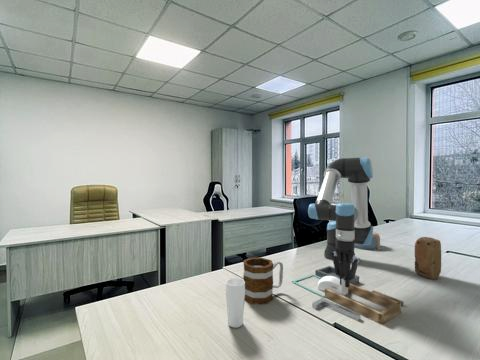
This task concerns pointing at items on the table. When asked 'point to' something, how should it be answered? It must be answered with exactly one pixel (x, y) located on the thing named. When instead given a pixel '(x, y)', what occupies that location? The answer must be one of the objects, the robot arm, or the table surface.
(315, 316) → the table surface
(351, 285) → the wooden u-shaped frame
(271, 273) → the mug
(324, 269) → the grey tray
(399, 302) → the walnut dowel
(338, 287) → the computer mouse
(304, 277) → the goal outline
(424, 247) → the block
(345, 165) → the robot arm
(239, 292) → the drinking glass
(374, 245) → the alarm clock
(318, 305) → the grey l-shaped bar
